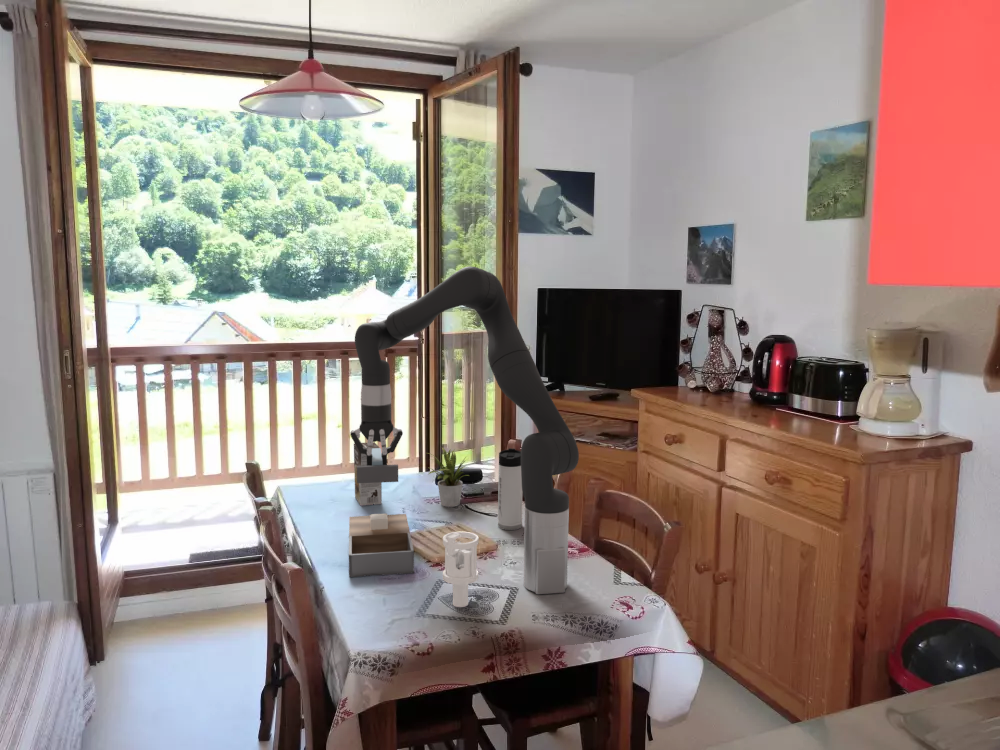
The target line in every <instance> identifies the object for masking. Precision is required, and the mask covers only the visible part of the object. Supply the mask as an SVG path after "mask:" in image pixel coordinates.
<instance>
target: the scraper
mask: <svg viewBox="0 0 1000 750" xmlns="http://www.w3.org/2000/svg"><path fill="white" fill-rule="evenodd" d="M381 453H382V447H379V448H372V465H369V466H357V483H380V482H382V483H399V464H387V465H383V461H382V457H381Z"/></svg>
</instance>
